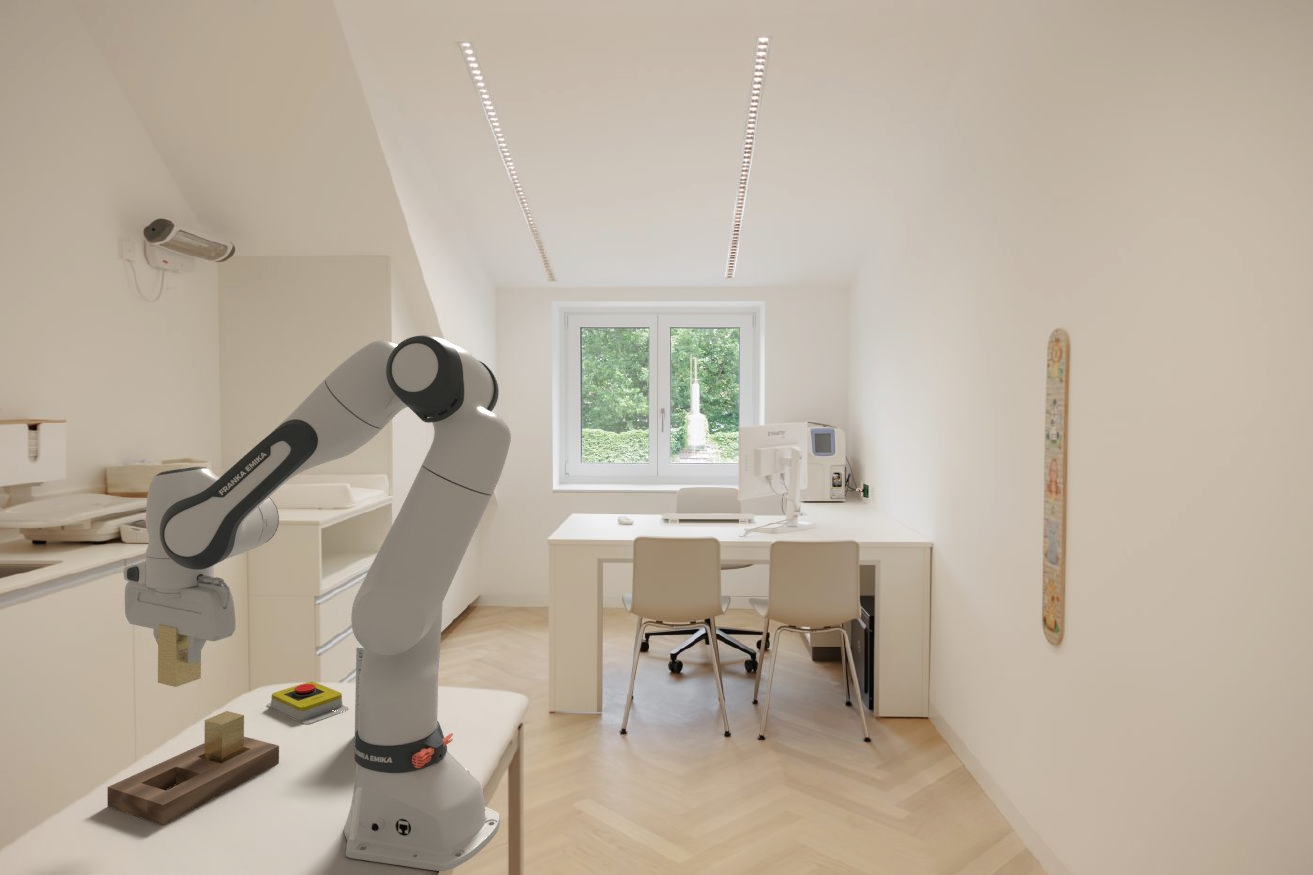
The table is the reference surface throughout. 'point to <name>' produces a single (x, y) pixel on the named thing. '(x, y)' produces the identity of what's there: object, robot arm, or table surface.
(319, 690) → the emergency button
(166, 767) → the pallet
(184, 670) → the block
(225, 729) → the seated billet
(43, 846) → the table surface
